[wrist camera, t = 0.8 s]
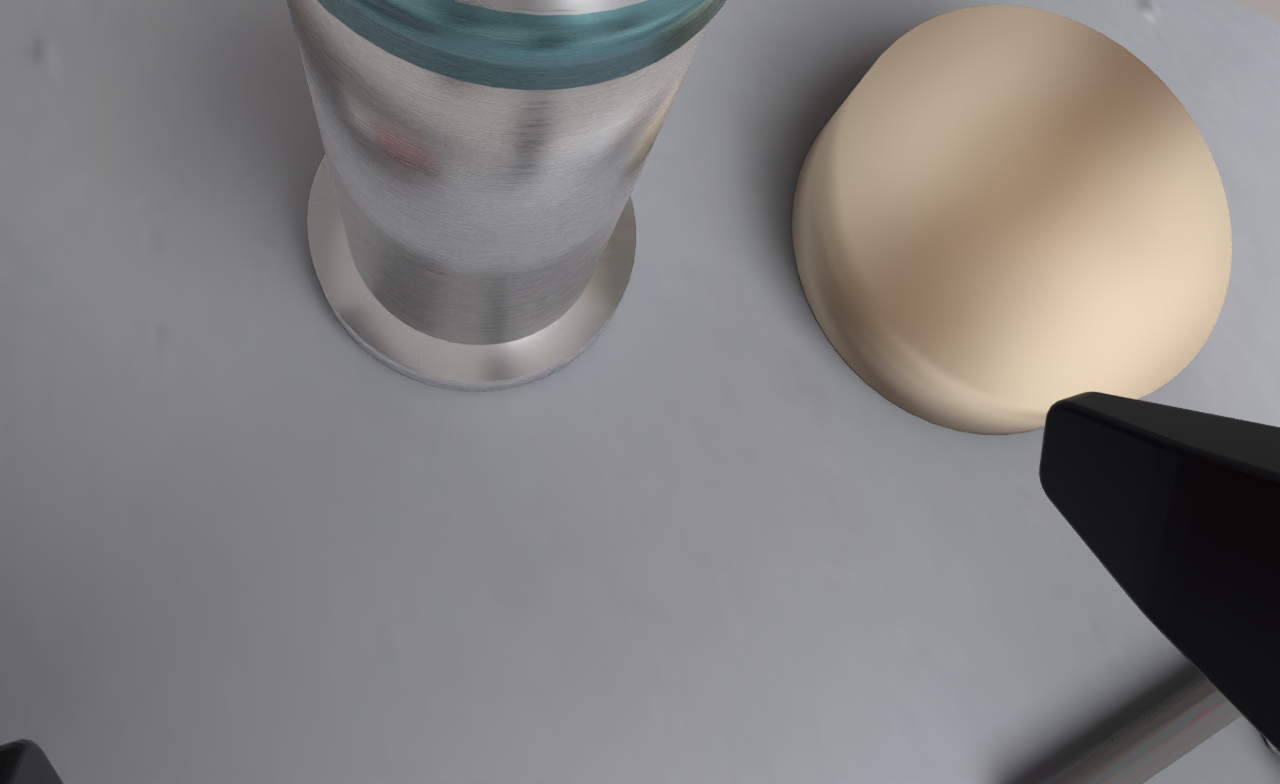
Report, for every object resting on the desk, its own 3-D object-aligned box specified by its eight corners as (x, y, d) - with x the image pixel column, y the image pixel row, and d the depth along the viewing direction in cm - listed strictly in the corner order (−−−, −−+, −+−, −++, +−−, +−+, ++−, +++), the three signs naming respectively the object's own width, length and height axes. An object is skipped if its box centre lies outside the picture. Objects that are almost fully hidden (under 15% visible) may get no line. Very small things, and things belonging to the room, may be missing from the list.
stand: (1208, 275, 26) (1303, 234, 23) (984, 518, 23) (1063, 505, 20) (963, 7, 26) (1028, -66, 23) (712, 213, 23) (750, 157, 20)
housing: (688, 264, 23) (981, -142, 10) (457, 456, 21) (481, 232, 8) (492, 45, 23) (553, -608, 11) (244, 213, 21) (-41, -358, 9)
